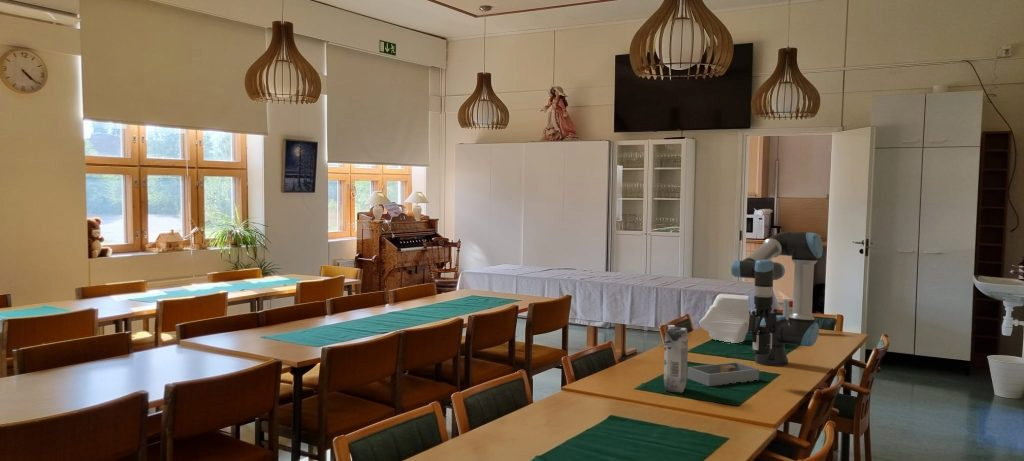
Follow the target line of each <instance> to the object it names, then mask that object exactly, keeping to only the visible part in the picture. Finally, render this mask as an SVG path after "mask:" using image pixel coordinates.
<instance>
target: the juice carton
mask: <svg viewBox="0 0 1024 461" xmlns="http://www.w3.org/2000/svg"><path fill="white" fill-rule="evenodd" d="M667 327H668V328H667V329H666V330H665V336H664V348H663V349H664V352H663V353H664V354H663V355H664V356H663V357H664V359H663V363H664V364H663V385H664V391H665V392H671V393H681V394H682V393H683V392H684V391H685V388H686V385H687V381H688V378H687V373H688V355H689V354H688V352H689V351H688V350H689V349H688V348H689V346H688V343H689V337H688V336H689V335H688V329H687V327H680V326H679V327H678V326H676V325H674V324H670V325H668V326H667Z"/></svg>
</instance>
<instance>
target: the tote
mask: <svg viewBox="0 0 1024 461" xmlns="http://www.w3.org/2000/svg"><path fill="white" fill-rule="evenodd" d="M723 365H731V366H735V367H737V371H733V372H724V373H720V366H723ZM687 380H691V381H694V382H696V383H699V384H700V385H701V384H702V385H704V386H707V387H713V386H714V387H715V386H722V385H723V384H724V385H730V384H729V383H732V384H737V383H736V382H741V383H747V381H749V382H755V381H754V380H757V381H759V380H760V369H759V368H756V367H753V366H751V365H746V364H743V363H740V362H737V361H736V362H735V361H734V362H725V363H716V364H714V363H713V364H705V365H696V366H695V365H693V366H687Z"/></svg>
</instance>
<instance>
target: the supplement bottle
mask: <svg viewBox="0 0 1024 461" xmlns="http://www.w3.org/2000/svg"><path fill="white" fill-rule="evenodd" d="M768 331H769V326H766V325H760V326H759V330H758V333H757V335H759V348H758V350H754V349H753V353H754V354H755V355H757V354H759V355H769V354H770V350H771V334H770V333H769V332H768Z"/></svg>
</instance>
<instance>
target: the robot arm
mask: <svg viewBox="0 0 1024 461" xmlns="http://www.w3.org/2000/svg"><path fill="white" fill-rule="evenodd" d="M823 251H824V246H823V241H822V238H821V236H820V235H819V234H818V233H816V232H809V231H808V232H802V231H800V232H799V231H798V232H797V231H783V232H779V233H775V234H773V235H771V236H769V237H768V238H766V239H765V240H764V241H763V242H762V245H761V246H760V247H758V248H757V249H755V250H754V251H752V253H750V254H749V255H748V256H747V257H746V258H744V259H742V260H740V259H739V260H733V261H732V263H731V265H730V266H731V267H730V272H731V275H732V276H733V277H735V278H742V279H743V278H745V279H754V290H753V292H754V296H753V304H754V309H750V310H749V315H750V317H749V322H748V332H747V333H748V334H750V335H751V342H752V350H753V351H754V350H758V348H759V335H757V333H758V330H759V326H760V325H766V326H769V331H768V332H769V333H770V334H771V350H770V354H769V355H759V354H755V358H754V359H755V363H757V364H760V365H764V366H770V367H772V366H773V367H783V366H787V365H788V364H789V359H788V355H787V351H786V346H785V345H786V344H787V345H795V346H801V347H813V346H814V345H815V344H816V342H817V340H818V337H819V334H820V333H819V332H820V327H819V324H818V323H817V322H815V321H816V320H815V319H816V318H815V317H814V316H813V294H814V293H813V292H814V290H813V289H814V275H815V274H814V272H815V270H814V269H815V265H816V264H817V262H818V259H819V258H822V256H823ZM779 256H788V257H791V261H792V262H793V264H794V269H793V270H794V272H793V294H792V299H793V310H792V314H791V315H790V316H789V320H787V319H786V317H785V316H783V314H782V315H779V314H778V315H777V312H778V309H777V308H773V307H772V306H773V305H774V304H773V302H774V300H773V298H774V297H773V295H774V293H773V292H774V281H778V280H780V279H782V278H783V277H784V276H785V273H786V270H785V267H784V265H783V264H782V263H780V262H774V261H773V260H772V259H773V258H778V257H779Z"/></svg>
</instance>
